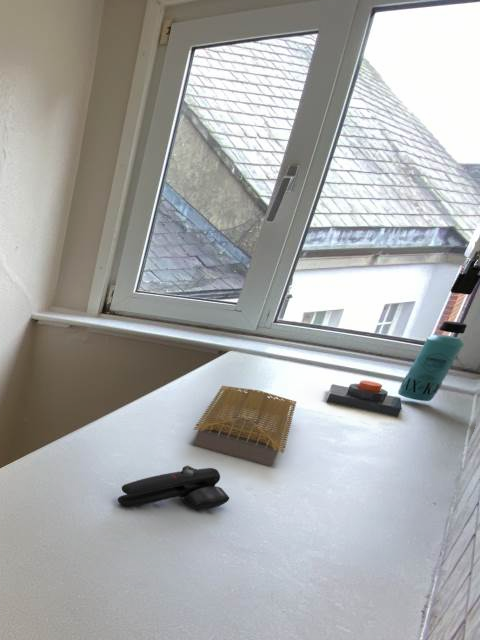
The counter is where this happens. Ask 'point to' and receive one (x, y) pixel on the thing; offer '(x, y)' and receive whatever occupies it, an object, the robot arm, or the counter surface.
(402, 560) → the counter surface
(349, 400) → the switch box
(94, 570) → the counter surface
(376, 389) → the button
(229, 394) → the rafter model
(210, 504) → the can opener
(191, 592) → the counter surface
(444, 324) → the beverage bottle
